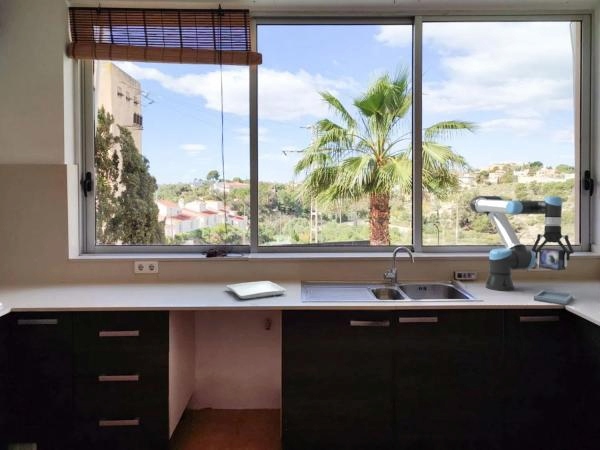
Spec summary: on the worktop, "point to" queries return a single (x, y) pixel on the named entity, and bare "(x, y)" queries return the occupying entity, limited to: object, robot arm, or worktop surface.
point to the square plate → (256, 289)
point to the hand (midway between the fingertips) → (551, 265)
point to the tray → (553, 297)
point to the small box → (552, 259)
